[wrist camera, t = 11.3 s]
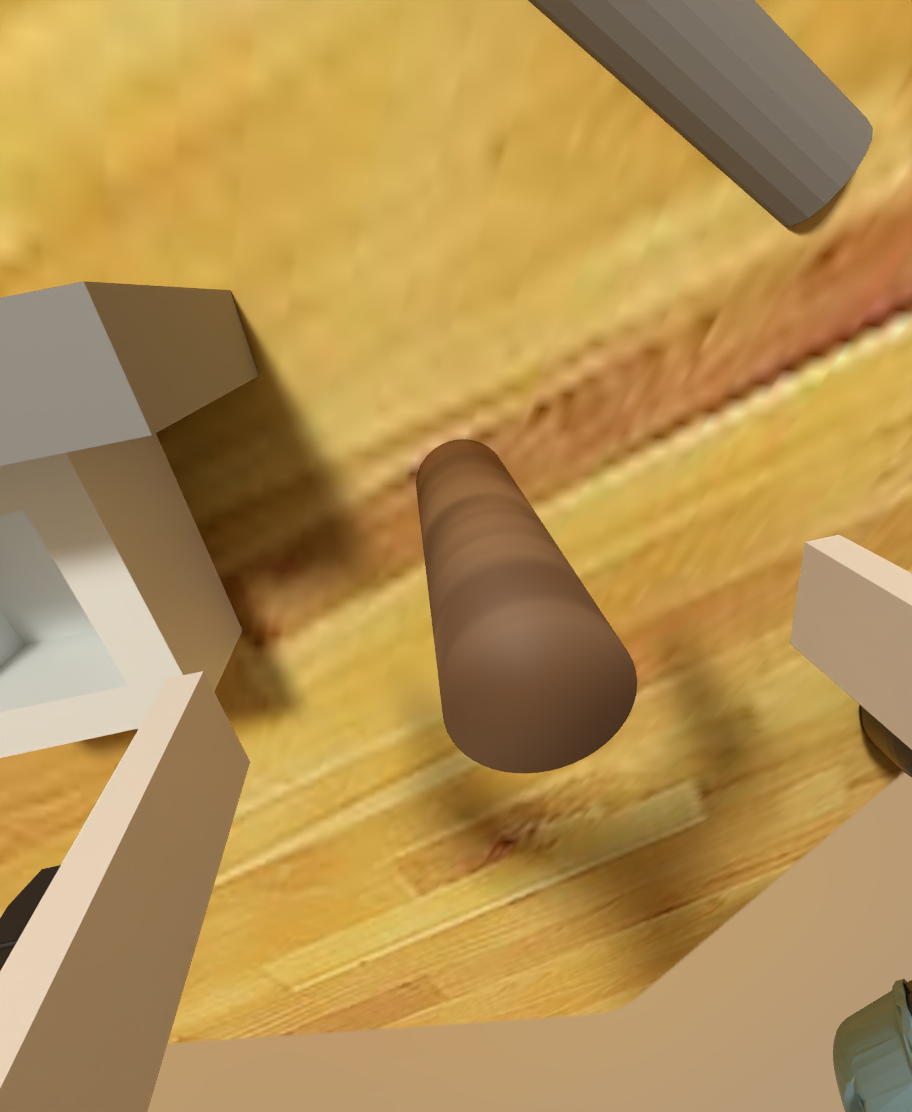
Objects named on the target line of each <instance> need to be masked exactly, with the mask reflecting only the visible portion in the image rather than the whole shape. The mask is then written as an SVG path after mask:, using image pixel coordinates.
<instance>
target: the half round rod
mask: <svg viewBox="0 0 912 1112" xmlns="http://www.w3.org/2000/svg"><path fill="white" fill-rule="evenodd" d="M529 1H530V2H531V3H532V4H534V5H535V6H536V7H537V8H538V9H539V10H540V11H542V12H543V13H544V14H545V15H546V16H547V17H548V18H549V19H551V20H552V21H553V22H554V23H555V24H556V25H557V26H559V27H560V28H561V29H562V30H563V31H564V32H565V33H566V34H568V35H569V36H570V37H571V38H572V39H573V40H574V41H576V42H577V43H578V44H579V45H580V46H581V47H582V48H583V49H585V50H586V51H587V52H588V53H589V54H590V55H591V56H593V57H594V58H595V59H596V60H597V61H598V62H599V63H600V64H602V65H603V66H604V67H605V68H606V69H607V70H608V71H610V72H611V73H612V74H613V75H614V76H615V77H616V78H617V79H619V80H620V81H621V82H622V83H623V84H624V85H625V86H627V87H628V88H629V89H630V90H631V91H632V92H633V93H634V94H636V95H637V96H638V97H639V98H640V99H641V100H642V101H644V102H645V103H646V104H647V105H648V106H649V107H650V108H651V109H653V110H654V111H655V112H656V113H657V114H658V115H659V116H661V117H662V118H663V119H664V120H665V121H666V122H667V123H668V124H670V125H671V126H672V127H673V128H674V129H675V130H676V131H678V132H679V133H680V134H681V135H682V136H683V137H684V138H685V139H687V140H688V141H689V142H690V143H691V144H692V145H693V146H695V147H696V148H697V149H698V150H699V151H700V152H701V153H702V154H704V155H705V156H706V157H707V158H708V159H709V160H710V161H712V162H713V163H714V164H715V165H716V166H717V167H718V168H719V169H721V170H722V171H723V172H724V173H725V174H726V175H727V176H728V177H730V178H731V179H732V180H733V181H734V182H735V183H736V184H738V185H739V186H740V187H741V188H742V189H743V190H744V191H745V192H747V193H748V194H749V195H750V196H751V197H752V198H753V199H755V200H756V201H757V202H758V203H759V204H760V205H761V206H762V207H764V208H765V209H766V210H767V211H768V212H769V213H770V214H772V215H773V216H774V217H775V218H776V219H777V220H778V221H779V222H781V223H782V224H783V225H784V226H785V227H788V226H793V225H795V224H797V223H800V222H802V221H804V220H806V219H808V218H810V217H811V216H812V215H814V214H815V213H816V212H817V211H819V210H820V209H821V208H822V207H824V206H825V205H826V204H827V203H828V202H829V201H830V200H831V199H832V198H833V197H834V196H835V195H836V194H837V193H838V192H839V191H840V190H841V189H842V187H843V186H844V185H845V183H846V182H847V181H848V180H849V178H850V177H851V176H852V175H853V173H854V172H855V171H856V169H857V168H858V166H859V164H860V163H861V161H862V160H863V158H864V156H865V155H866V153H867V150H868V148H869V145H870V143H871V141H872V130H873V128H872V126H871V124H870V123H869V121H868V119H867V118H866V117H865V116H864V115H863V114H862V113H861V112H860V111H859V110H858V108H857V107H856V106H855V105H854V104H853V103H852V102H851V101H850V100H849V99H848V98H847V97H846V96H845V95H844V94H843V93H842V92H841V91H840V90H839V89H838V88H837V87H836V85H835V84H834V83H833V82H832V81H831V80H830V79H829V78H828V77H827V76H826V75H825V74H824V73H823V72H822V71H821V70H820V69H819V68H818V67H817V66H816V65H815V64H814V62H813V61H812V60H811V59H810V58H809V57H808V56H807V55H806V54H805V53H804V52H803V51H802V50H801V49H800V48H799V47H798V46H797V45H796V44H795V43H794V42H793V40H792V39H791V38H790V37H789V36H788V35H787V34H786V33H785V32H784V31H783V30H782V29H781V28H780V27H779V26H778V25H777V24H776V23H775V22H774V21H773V20H772V19H771V17H770V16H769V15H768V14H767V13H766V12H765V11H764V10H763V9H762V8H761V7H760V6H759V5H758V4H757V3H756V2H755V1H754V0H529Z"/></svg>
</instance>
